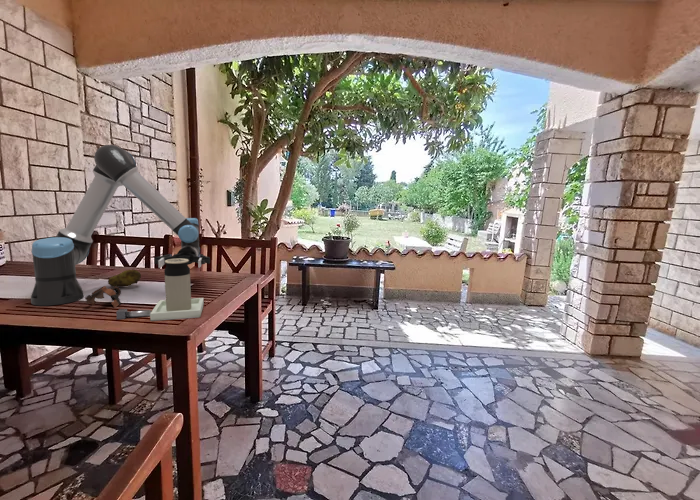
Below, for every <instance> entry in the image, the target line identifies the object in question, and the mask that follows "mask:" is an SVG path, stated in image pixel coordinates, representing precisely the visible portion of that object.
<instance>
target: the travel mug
mask: <svg viewBox="0 0 700 500" xmlns="http://www.w3.org/2000/svg"><path fill="white" fill-rule="evenodd" d="M188 261H189V260H188V259H181V258H179V259H169V260H166V261H165V265H166V266H165V268H164V289H165V290H164V291H165V300H166V310H167V311H181V310H189V309H191V299H192V291H191V269H190V267H189V265H188Z"/></svg>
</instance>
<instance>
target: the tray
mask: <svg viewBox="0 0 700 500" xmlns="http://www.w3.org/2000/svg"><path fill="white" fill-rule="evenodd" d="M204 301H205V300H204V297H196V298H195V297H194V298H192V297H191V309H189V310H181V311H167V310H166V299H161V300H158V302H157V303H156V304H155V306H154V308H153V309H152V310H151V313H150V316H149V317H150V322H155V321H167V320H180V319H181V320H182V319H194V318H201V316H202V312H203V308H204Z"/></svg>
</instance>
